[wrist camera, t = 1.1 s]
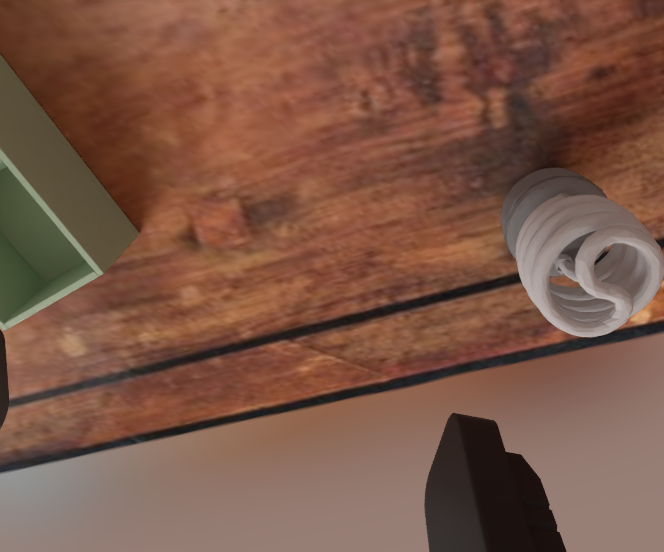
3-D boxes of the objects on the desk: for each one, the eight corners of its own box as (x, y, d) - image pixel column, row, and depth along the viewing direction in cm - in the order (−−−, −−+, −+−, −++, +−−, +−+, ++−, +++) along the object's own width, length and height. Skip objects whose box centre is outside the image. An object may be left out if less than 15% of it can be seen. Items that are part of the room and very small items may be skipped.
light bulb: (593, 225, 35) (690, 334, 24) (498, 252, 36) (551, 367, 25) (576, 135, 33) (676, 212, 22) (476, 166, 34) (524, 254, 23)
